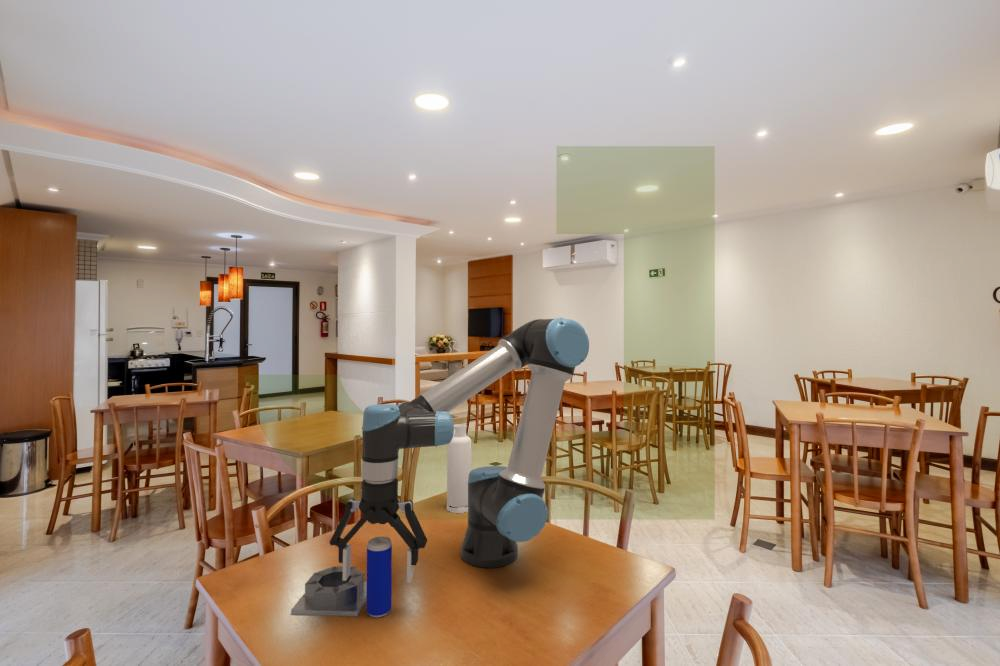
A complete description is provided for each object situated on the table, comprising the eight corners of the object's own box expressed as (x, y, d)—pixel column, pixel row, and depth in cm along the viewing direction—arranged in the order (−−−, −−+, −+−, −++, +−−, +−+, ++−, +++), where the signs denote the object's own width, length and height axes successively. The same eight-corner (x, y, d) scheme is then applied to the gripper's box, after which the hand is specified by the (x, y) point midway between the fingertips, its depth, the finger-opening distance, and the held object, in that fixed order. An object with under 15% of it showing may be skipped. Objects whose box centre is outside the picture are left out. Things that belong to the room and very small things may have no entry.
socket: (374, 585, 112) (374, 566, 112) (357, 616, 100) (357, 594, 100) (315, 584, 112) (315, 565, 112) (291, 614, 100) (291, 593, 100)
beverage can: (396, 611, 102) (396, 540, 102) (375, 621, 98) (375, 548, 98) (382, 601, 105) (383, 533, 105) (361, 611, 101) (362, 541, 101)
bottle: (473, 512, 157) (474, 427, 157) (449, 514, 155) (449, 428, 155) (468, 503, 165) (468, 422, 165) (444, 505, 163) (445, 423, 163)
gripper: (441, 474, 105) (439, 571, 105) (328, 471, 106) (327, 567, 106) (435, 485, 97) (433, 590, 97) (314, 482, 98) (312, 585, 98)
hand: (378, 578), depth 101 cm, fingers open, 13 cm apart
